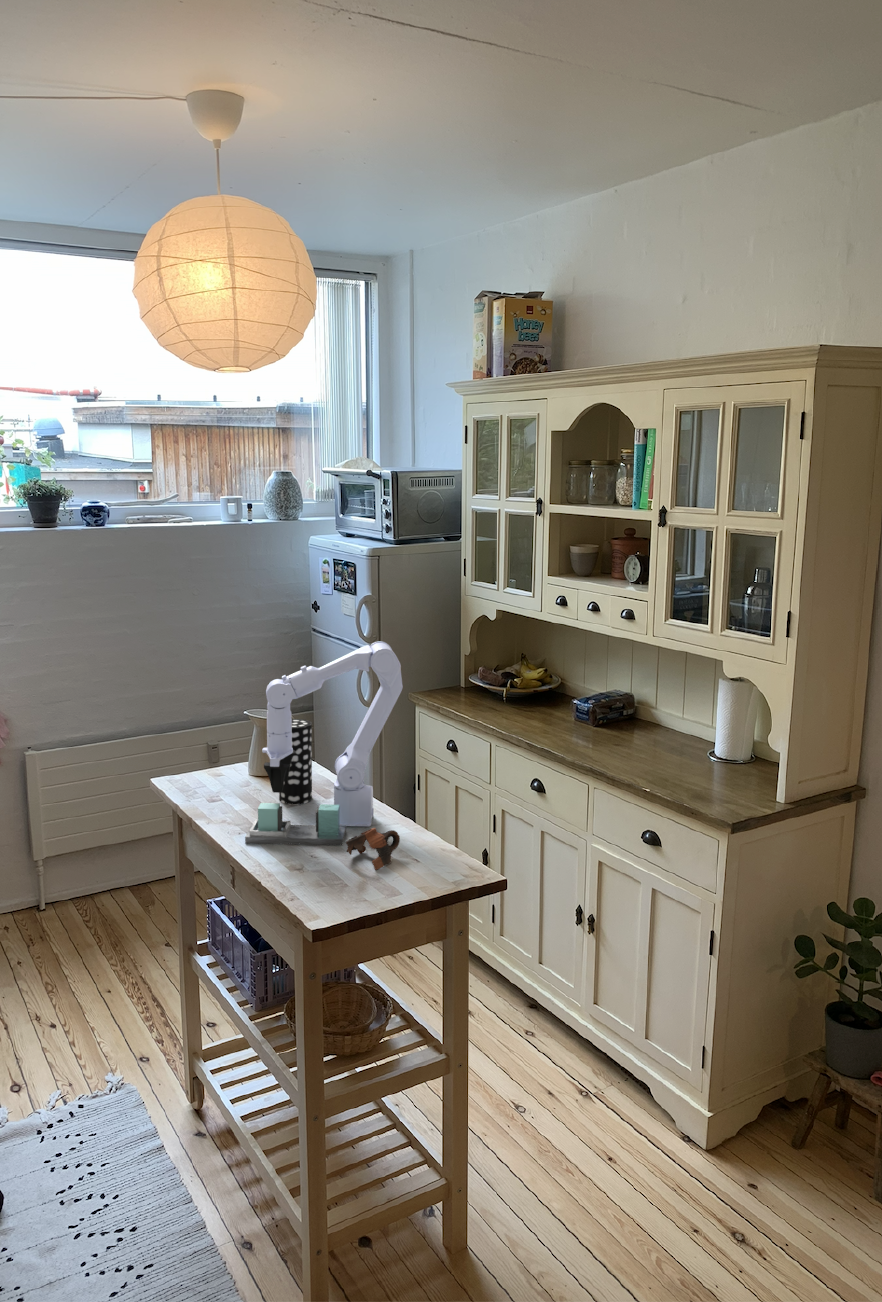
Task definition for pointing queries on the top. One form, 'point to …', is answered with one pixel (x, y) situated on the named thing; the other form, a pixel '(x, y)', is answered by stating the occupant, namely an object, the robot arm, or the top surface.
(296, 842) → the grey long flat piece
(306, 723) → the white-spotted black cylinder
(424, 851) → the top surface
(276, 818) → the pale aqua cube
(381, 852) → the brown looped piece
